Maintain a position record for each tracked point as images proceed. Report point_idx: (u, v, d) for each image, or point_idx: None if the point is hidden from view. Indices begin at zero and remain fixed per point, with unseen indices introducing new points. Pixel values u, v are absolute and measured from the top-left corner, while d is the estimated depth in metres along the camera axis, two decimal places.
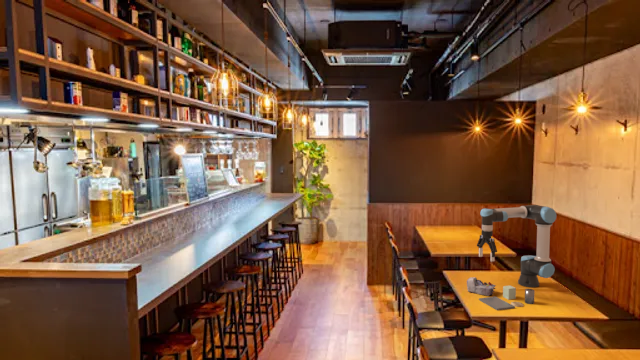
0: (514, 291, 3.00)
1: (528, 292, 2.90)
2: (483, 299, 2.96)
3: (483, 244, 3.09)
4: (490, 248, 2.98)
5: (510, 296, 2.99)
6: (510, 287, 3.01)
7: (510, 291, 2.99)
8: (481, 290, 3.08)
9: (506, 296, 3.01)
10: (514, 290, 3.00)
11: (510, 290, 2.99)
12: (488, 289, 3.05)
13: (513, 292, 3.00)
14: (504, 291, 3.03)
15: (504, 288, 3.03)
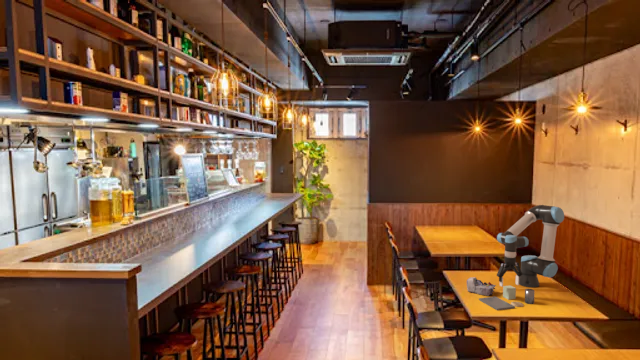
0: (514, 291, 3.00)
1: (528, 292, 2.90)
2: (483, 299, 2.96)
3: (516, 272, 3.02)
4: None
5: (510, 296, 2.99)
6: (510, 287, 3.01)
7: (510, 291, 2.99)
8: (481, 290, 3.08)
9: (506, 296, 3.01)
10: (514, 290, 3.00)
11: (510, 290, 2.99)
12: (488, 289, 3.05)
13: (513, 292, 3.00)
14: (504, 291, 3.03)
15: (504, 288, 3.03)
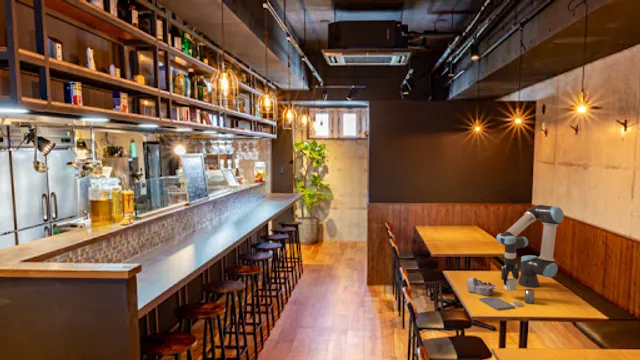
0: (515, 282, 3.00)
1: (528, 292, 2.90)
2: (483, 299, 2.96)
3: (514, 274, 3.01)
4: None
5: (511, 287, 2.99)
6: (511, 278, 3.00)
7: (510, 282, 2.99)
8: (481, 290, 3.08)
9: None
10: (515, 281, 3.00)
11: (511, 281, 2.99)
12: (488, 289, 3.05)
13: (513, 283, 2.99)
14: None
15: None
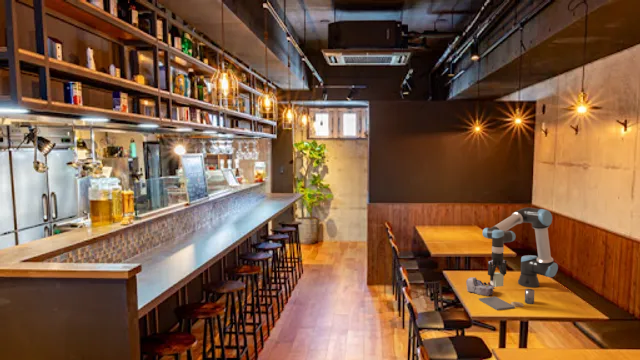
0: (502, 278, 2.87)
1: (528, 292, 2.90)
2: (483, 299, 2.96)
3: (501, 270, 2.89)
4: None
5: (497, 283, 2.86)
6: (497, 274, 2.88)
7: (497, 278, 2.86)
8: (480, 290, 3.08)
9: None
10: (502, 277, 2.87)
11: (497, 277, 2.86)
12: (487, 289, 3.05)
13: (500, 279, 2.87)
14: None
15: None
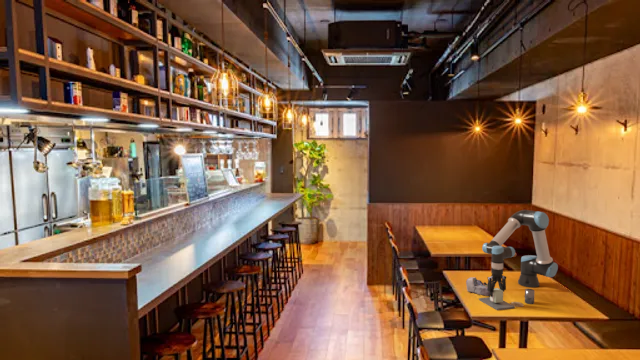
0: (501, 294, 2.88)
1: (528, 292, 2.90)
2: (483, 299, 2.96)
3: (500, 286, 2.90)
4: None
5: (497, 299, 2.87)
6: (497, 290, 2.89)
7: (497, 294, 2.87)
8: (480, 290, 3.08)
9: None
10: (501, 293, 2.88)
11: (497, 293, 2.87)
12: None
13: (500, 295, 2.88)
14: None
15: None
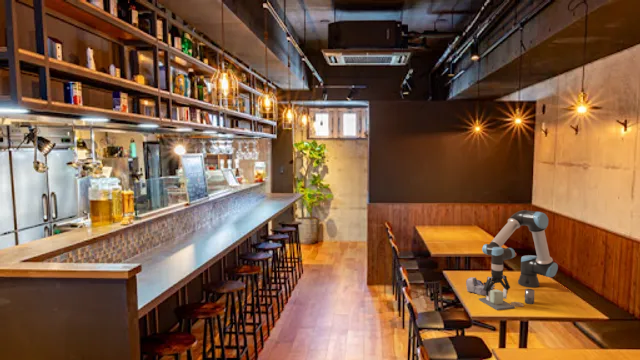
0: (501, 295, 2.88)
1: (528, 292, 2.90)
2: (483, 299, 2.96)
3: (503, 285, 2.90)
4: None
5: (497, 301, 2.87)
6: (497, 291, 2.89)
7: (497, 296, 2.87)
8: (480, 290, 3.08)
9: (493, 300, 2.89)
10: (501, 295, 2.88)
11: (497, 294, 2.87)
12: None
13: (500, 296, 2.88)
14: (491, 295, 2.91)
15: (491, 292, 2.91)
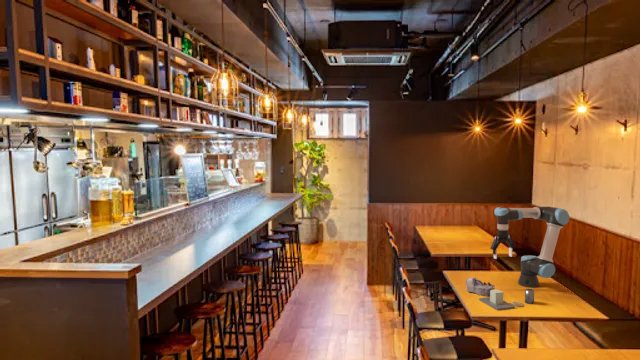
0: (501, 295, 2.88)
1: (528, 292, 2.90)
2: (483, 299, 2.96)
3: (509, 244, 3.07)
4: None
5: (497, 301, 2.87)
6: (497, 291, 2.89)
7: (497, 296, 2.87)
8: (480, 290, 3.08)
9: (493, 300, 2.89)
10: (501, 295, 2.88)
11: (497, 294, 2.87)
12: (487, 289, 3.05)
13: (500, 296, 2.88)
14: (491, 295, 2.91)
15: (491, 292, 2.91)
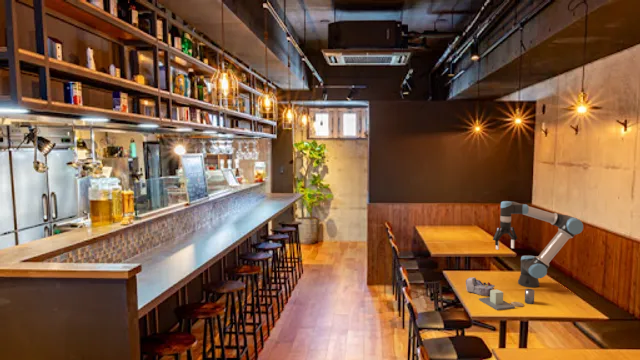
0: (501, 295, 2.88)
1: (528, 292, 2.90)
2: (483, 299, 2.96)
3: (511, 236, 3.19)
4: None
5: (497, 301, 2.87)
6: (497, 291, 2.89)
7: (497, 296, 2.87)
8: (480, 290, 3.08)
9: (493, 300, 2.89)
10: (501, 295, 2.88)
11: (497, 294, 2.87)
12: (487, 289, 3.05)
13: (500, 296, 2.88)
14: (491, 295, 2.91)
15: (491, 292, 2.91)
